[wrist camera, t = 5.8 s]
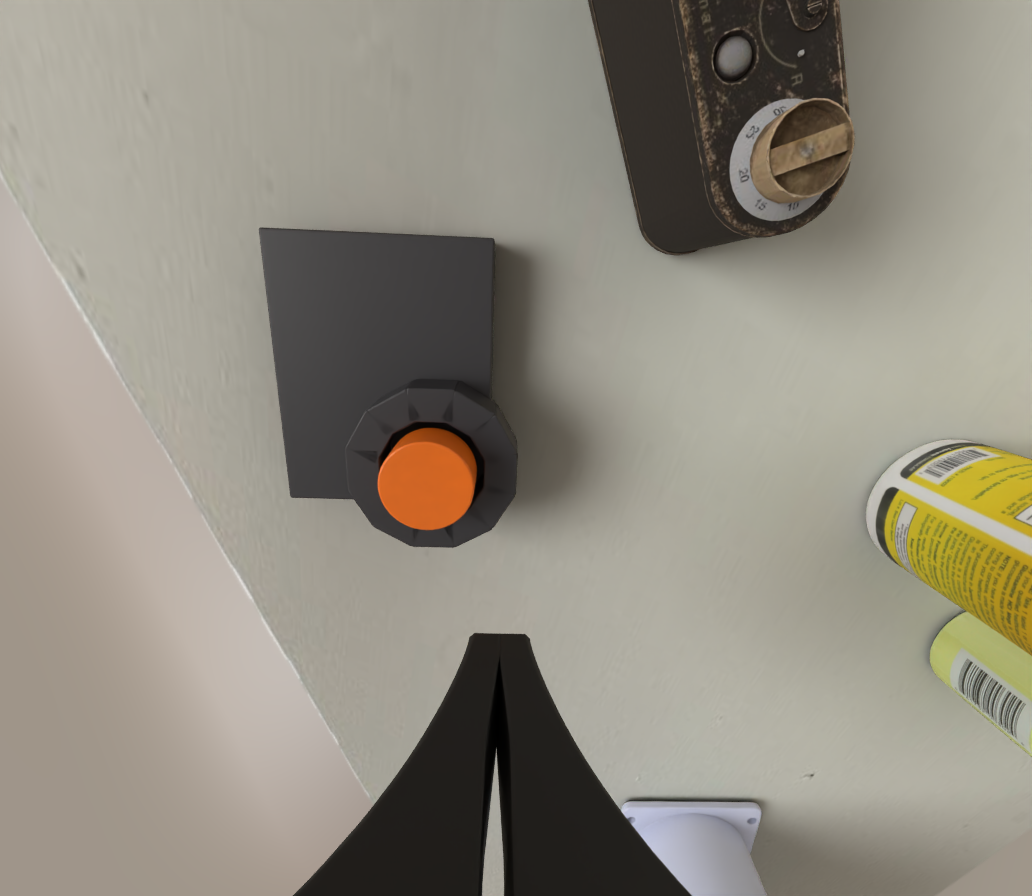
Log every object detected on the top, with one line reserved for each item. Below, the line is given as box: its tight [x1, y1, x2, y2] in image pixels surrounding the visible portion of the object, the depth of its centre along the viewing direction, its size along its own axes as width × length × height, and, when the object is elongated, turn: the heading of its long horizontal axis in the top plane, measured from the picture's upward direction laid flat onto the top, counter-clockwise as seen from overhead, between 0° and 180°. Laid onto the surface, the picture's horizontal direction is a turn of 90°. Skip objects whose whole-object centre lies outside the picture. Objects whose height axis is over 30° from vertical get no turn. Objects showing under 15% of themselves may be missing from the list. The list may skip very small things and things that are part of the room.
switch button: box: [378, 428, 477, 530], centre depth 17 cm, size 3×3×2 cm
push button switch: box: [259, 228, 518, 548], centre depth 18 cm, size 11×9×4 cm
